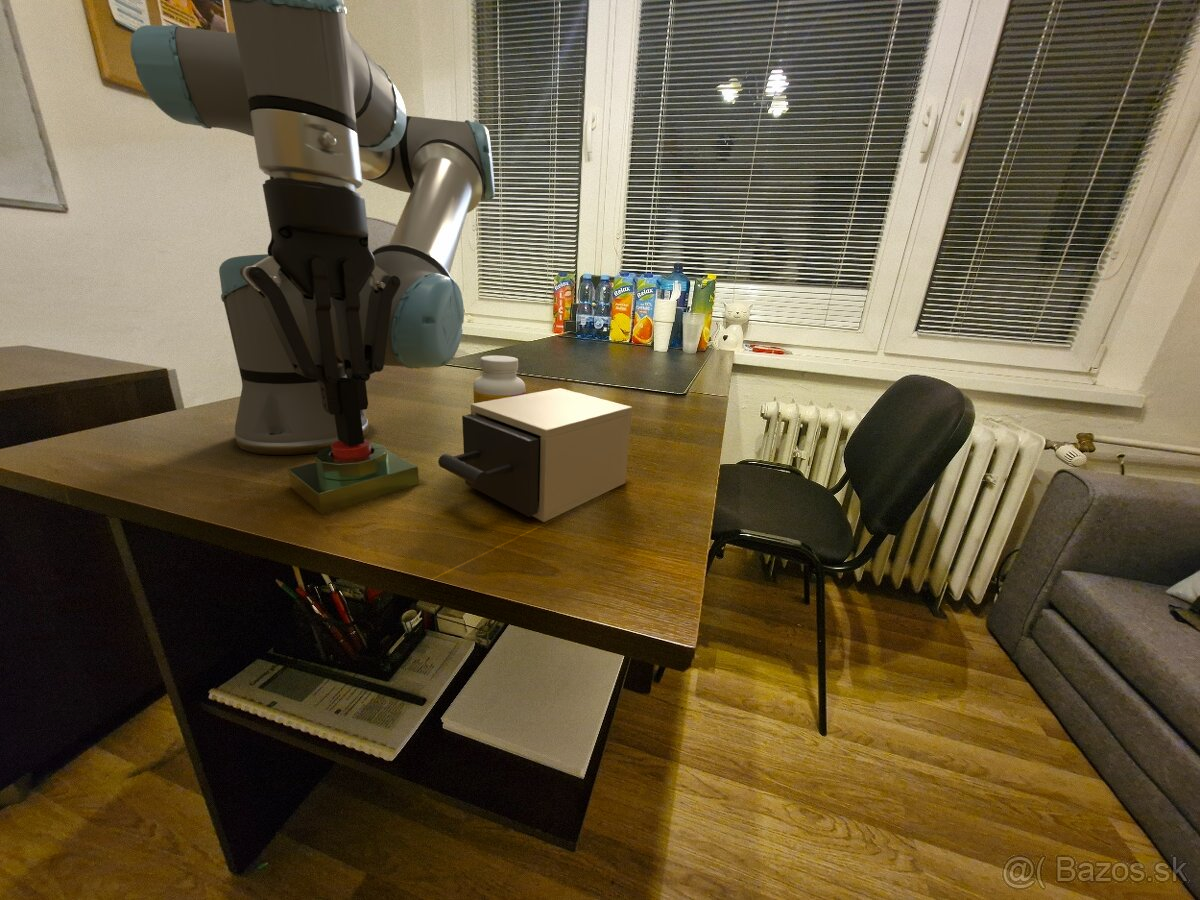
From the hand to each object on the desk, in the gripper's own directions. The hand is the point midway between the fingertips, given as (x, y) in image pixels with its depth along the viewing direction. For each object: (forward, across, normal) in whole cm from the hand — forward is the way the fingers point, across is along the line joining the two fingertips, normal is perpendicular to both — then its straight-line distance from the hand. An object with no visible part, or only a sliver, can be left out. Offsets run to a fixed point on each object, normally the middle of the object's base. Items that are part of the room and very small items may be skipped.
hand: (351, 441), depth 46 cm
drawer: (+4, +12, -14) cm, 19 cm away
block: (+5, 0, 0) cm, 5 cm away
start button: (+2, 0, 0) cm, 2 cm away
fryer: (+5, +16, -14) cm, 22 cm away
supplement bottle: (+5, +18, -2) cm, 19 cm away
